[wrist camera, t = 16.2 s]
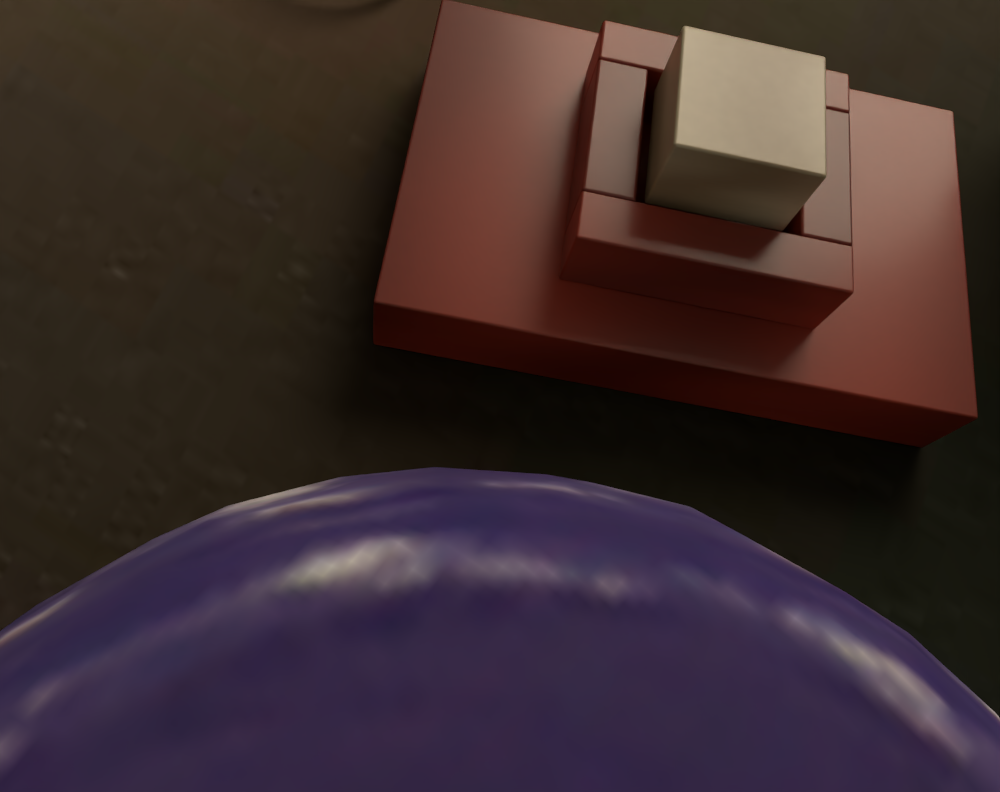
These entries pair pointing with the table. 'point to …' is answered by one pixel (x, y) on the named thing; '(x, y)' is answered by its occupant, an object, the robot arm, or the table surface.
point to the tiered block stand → (672, 243)
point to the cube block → (737, 130)
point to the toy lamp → (474, 656)
